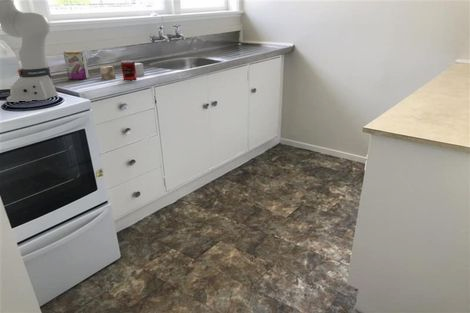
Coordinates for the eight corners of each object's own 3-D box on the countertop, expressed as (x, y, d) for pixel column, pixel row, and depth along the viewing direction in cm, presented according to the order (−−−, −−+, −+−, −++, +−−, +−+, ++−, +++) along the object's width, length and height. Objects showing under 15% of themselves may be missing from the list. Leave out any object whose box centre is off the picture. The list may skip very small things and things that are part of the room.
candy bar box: (68, 79, 218) (62, 52, 211) (71, 78, 222) (66, 51, 216) (86, 79, 218) (81, 51, 211) (89, 77, 222) (84, 50, 216)
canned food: (131, 78, 218) (129, 59, 213) (139, 79, 213) (137, 60, 209) (120, 80, 212) (117, 61, 208) (128, 81, 208) (126, 62, 203)
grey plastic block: (136, 76, 223) (134, 64, 220) (130, 75, 227) (129, 64, 224) (144, 74, 227) (142, 63, 225) (138, 73, 231) (137, 62, 228)
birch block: (106, 79, 215) (104, 67, 213) (101, 78, 219) (99, 66, 216) (115, 77, 220) (113, 66, 217) (110, 76, 223) (108, 65, 220)
